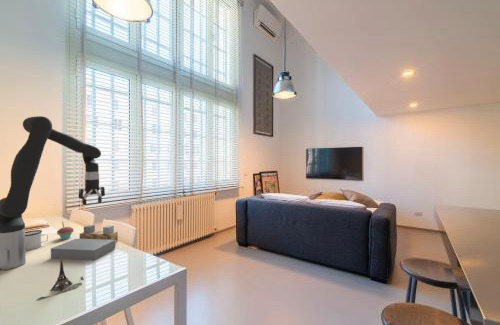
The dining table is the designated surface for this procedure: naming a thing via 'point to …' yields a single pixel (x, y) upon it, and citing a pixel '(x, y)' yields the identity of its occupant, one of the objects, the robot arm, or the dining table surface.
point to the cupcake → (65, 232)
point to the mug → (33, 239)
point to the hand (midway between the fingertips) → (92, 204)
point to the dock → (83, 249)
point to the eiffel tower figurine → (63, 283)
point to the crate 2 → (108, 229)
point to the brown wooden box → (99, 235)
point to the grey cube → (89, 229)
